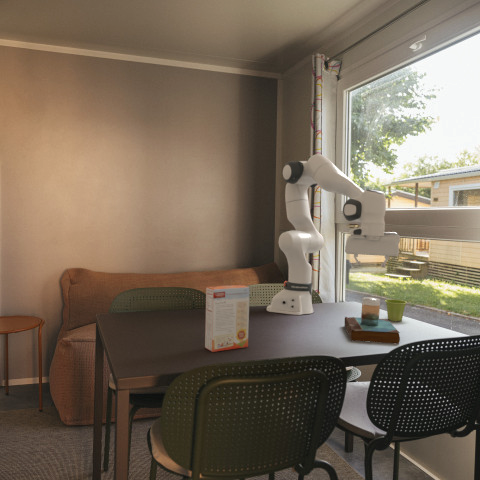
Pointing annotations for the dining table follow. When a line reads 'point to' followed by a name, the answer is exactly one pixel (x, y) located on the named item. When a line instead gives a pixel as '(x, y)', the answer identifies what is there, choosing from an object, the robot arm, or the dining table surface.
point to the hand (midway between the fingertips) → (370, 266)
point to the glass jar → (370, 311)
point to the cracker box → (227, 317)
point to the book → (371, 331)
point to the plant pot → (395, 309)
